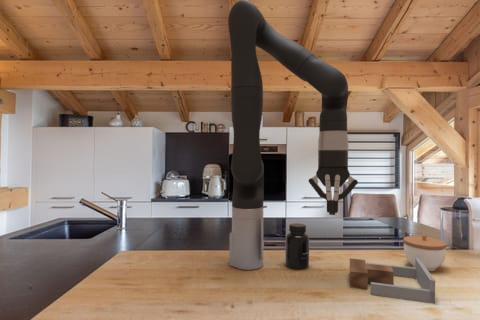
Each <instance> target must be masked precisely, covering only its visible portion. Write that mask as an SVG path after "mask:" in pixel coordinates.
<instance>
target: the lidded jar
mask: <svg viewBox="0 0 480 320" xmlns="http://www.w3.org/2000/svg"><path fill="white" fill-rule="evenodd" d="M402 241H403V253H404V255H405V258H406V260H407V261H408V262H409V263H410V265H411V267H414V268H415V258H417V259H420V260H421V261H422V263H423V264H424V266H425V267H426V268H427V270H428V271H429V272H433V271H437V269H438V268H440V267H441V266H442V265H443V264H444V262H445V259H446V253H447V243H446V242H445V241H443V240H442V239H440V238H434V237H429V236H427V234H422V235H420V236H419V235H408V236H405V237H403V239H402Z"/></svg>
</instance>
